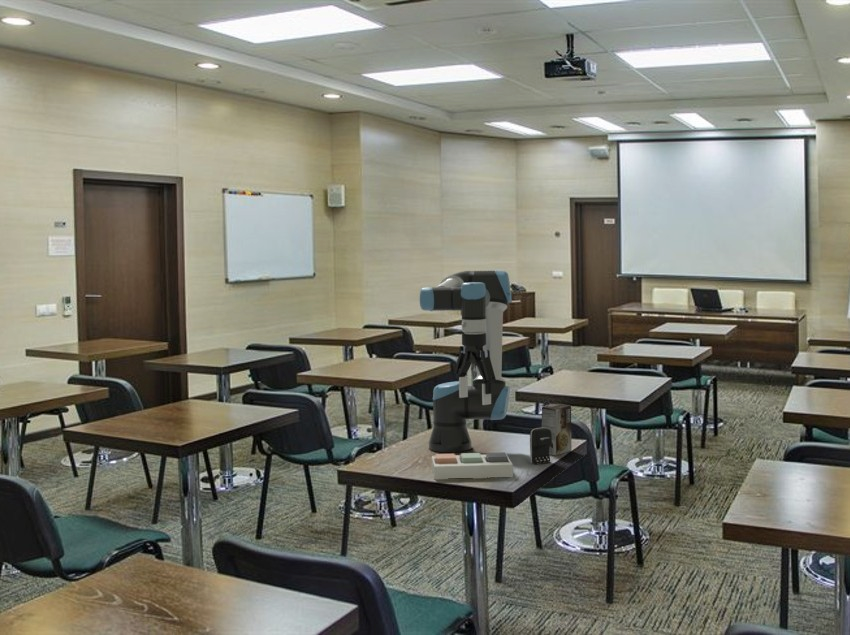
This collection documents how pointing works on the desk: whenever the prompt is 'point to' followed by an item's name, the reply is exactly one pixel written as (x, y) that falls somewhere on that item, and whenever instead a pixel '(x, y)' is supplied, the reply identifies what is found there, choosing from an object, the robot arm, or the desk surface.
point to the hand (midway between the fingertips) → (474, 400)
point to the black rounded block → (540, 445)
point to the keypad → (471, 469)
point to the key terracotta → (445, 458)
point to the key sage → (471, 458)
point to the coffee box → (558, 427)
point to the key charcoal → (496, 457)
